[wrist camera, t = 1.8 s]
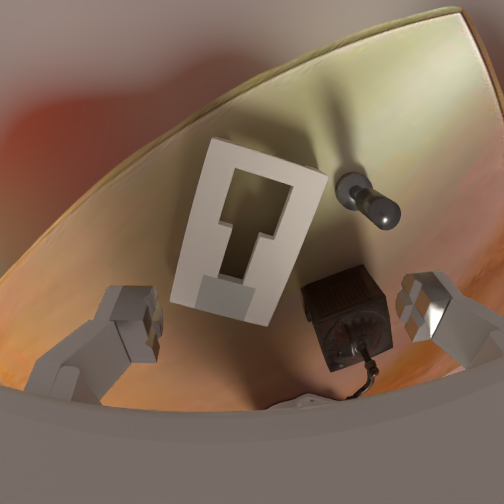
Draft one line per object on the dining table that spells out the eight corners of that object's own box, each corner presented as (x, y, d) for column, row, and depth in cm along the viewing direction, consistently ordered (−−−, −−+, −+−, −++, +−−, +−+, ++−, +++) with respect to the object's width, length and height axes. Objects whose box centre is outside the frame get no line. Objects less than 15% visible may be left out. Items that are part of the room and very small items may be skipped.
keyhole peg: (374, 179, 39) (414, 202, 29) (361, 212, 41) (396, 243, 31) (343, 166, 39) (377, 185, 28) (330, 200, 41) (358, 230, 30)
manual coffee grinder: (295, 288, 46) (319, 375, 30) (363, 262, 45) (416, 336, 28) (321, 356, 52) (343, 438, 36) (378, 334, 51) (416, 409, 34)
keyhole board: (319, 169, 39) (329, 176, 34) (265, 307, 47) (267, 326, 43) (215, 136, 37) (211, 138, 32) (176, 283, 45) (169, 301, 41)
